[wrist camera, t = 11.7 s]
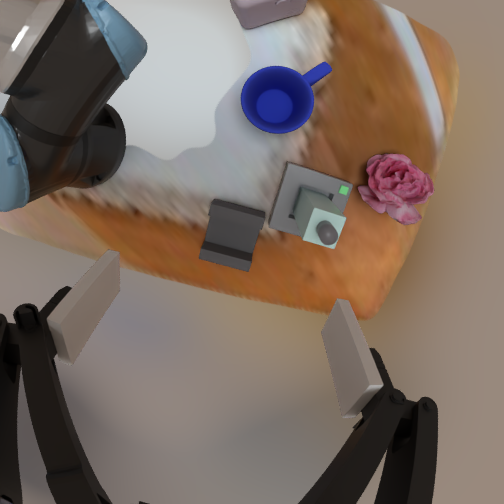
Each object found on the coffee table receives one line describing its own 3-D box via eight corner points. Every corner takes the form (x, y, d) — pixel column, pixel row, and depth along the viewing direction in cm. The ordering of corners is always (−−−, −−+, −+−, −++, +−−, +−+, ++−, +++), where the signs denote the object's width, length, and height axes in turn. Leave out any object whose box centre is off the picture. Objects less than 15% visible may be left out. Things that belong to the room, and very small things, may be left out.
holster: (203, 249, 46) (198, 258, 43) (215, 197, 43) (210, 203, 40) (249, 261, 47) (248, 271, 44) (264, 211, 43) (265, 218, 40)
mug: (333, 99, 36) (353, 90, 27) (269, 144, 39) (271, 147, 30) (298, 57, 33) (309, 37, 24) (234, 102, 37) (225, 93, 28)
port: (268, 222, 44) (268, 228, 41) (287, 161, 40) (289, 163, 37) (326, 238, 45) (330, 246, 42) (348, 181, 41) (354, 185, 38)
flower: (353, 156, 42) (388, 128, 33) (397, 179, 44) (435, 158, 34) (345, 219, 40) (386, 199, 30) (394, 239, 42) (437, 226, 32)
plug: (292, 210, 43) (305, 248, 30) (300, 186, 41) (318, 213, 28) (316, 218, 43) (338, 257, 30) (324, 194, 41) (352, 224, 28)
